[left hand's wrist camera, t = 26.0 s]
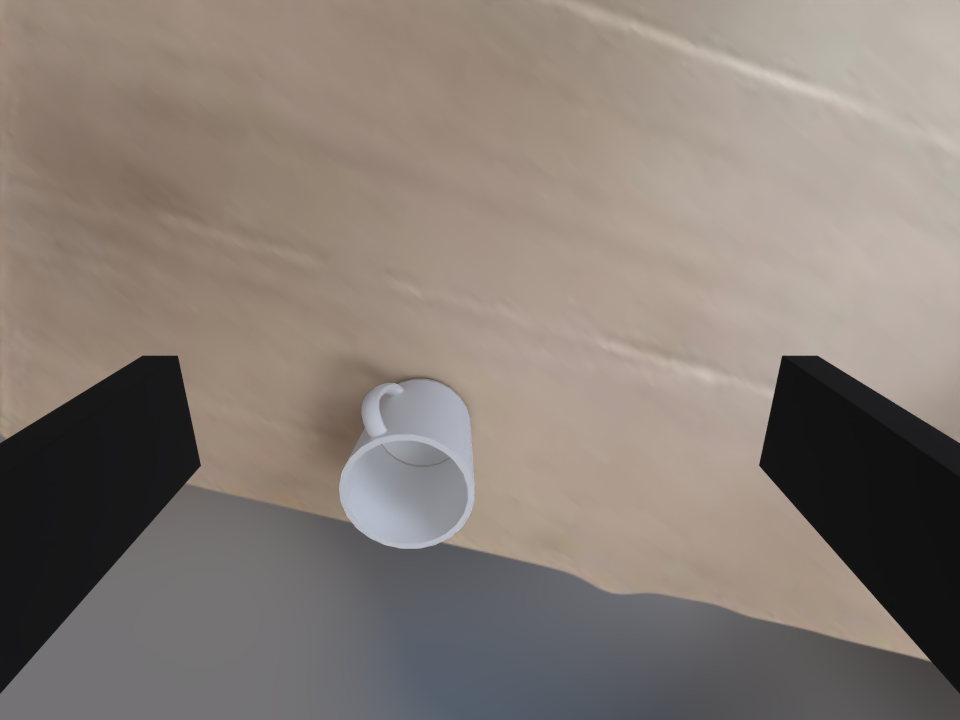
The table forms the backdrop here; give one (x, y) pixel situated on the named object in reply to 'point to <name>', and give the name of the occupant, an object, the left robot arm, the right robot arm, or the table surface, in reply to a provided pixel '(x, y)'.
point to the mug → (410, 465)
